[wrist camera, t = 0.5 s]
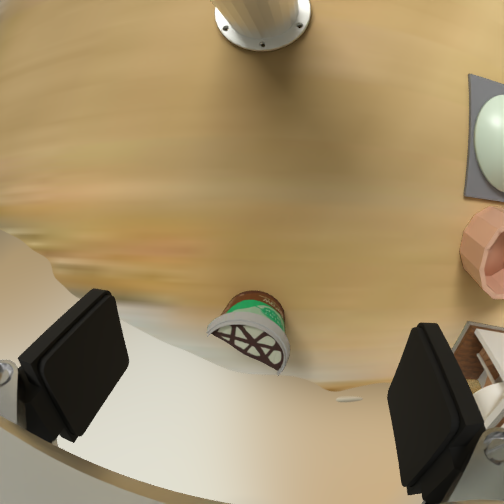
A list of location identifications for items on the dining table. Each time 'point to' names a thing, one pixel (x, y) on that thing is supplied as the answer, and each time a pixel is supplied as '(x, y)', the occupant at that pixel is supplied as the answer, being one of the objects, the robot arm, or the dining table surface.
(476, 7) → the dining table surface
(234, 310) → the food container
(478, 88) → the mat
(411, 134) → the dining table surface
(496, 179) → the lid
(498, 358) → the grey two-tier tower
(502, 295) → the bowl
